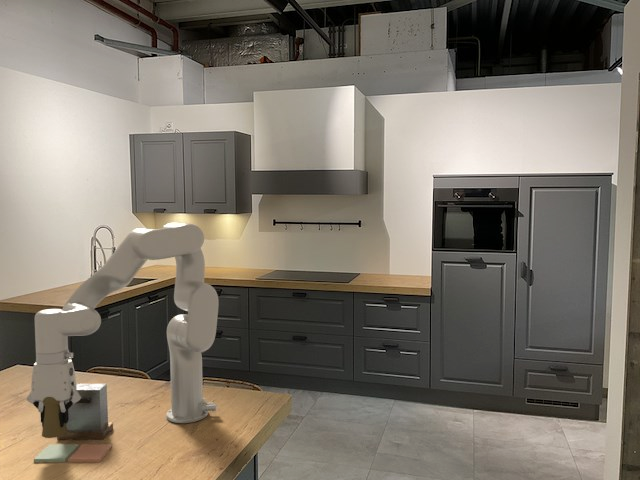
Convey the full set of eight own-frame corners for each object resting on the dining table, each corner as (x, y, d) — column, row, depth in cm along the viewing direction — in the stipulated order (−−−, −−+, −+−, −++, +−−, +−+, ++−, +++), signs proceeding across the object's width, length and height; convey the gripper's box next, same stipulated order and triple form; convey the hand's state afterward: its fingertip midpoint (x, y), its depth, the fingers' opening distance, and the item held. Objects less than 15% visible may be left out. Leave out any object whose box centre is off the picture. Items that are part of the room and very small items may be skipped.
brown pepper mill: (38, 432, 142) (36, 392, 141) (62, 425, 147) (61, 386, 146) (46, 440, 138) (44, 398, 137) (70, 433, 142) (69, 392, 141)
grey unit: (113, 428, 158) (111, 382, 157) (103, 439, 151) (101, 391, 150) (68, 429, 158) (66, 382, 157) (57, 439, 151) (55, 391, 150)
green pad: (78, 447, 147) (78, 444, 147) (64, 461, 139) (64, 458, 139) (49, 447, 147) (49, 444, 147) (33, 462, 139) (33, 459, 139)
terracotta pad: (111, 447, 147) (111, 444, 147) (99, 461, 139) (99, 458, 139) (82, 447, 147) (82, 444, 147) (68, 461, 139) (68, 458, 139)
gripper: (90, 352, 144) (92, 419, 146) (28, 352, 144) (30, 419, 146) (78, 361, 137) (80, 431, 138) (12, 361, 137) (15, 431, 138)
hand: (54, 424), depth 142 cm, fingers closed on brown pepper mill, 3 cm apart
